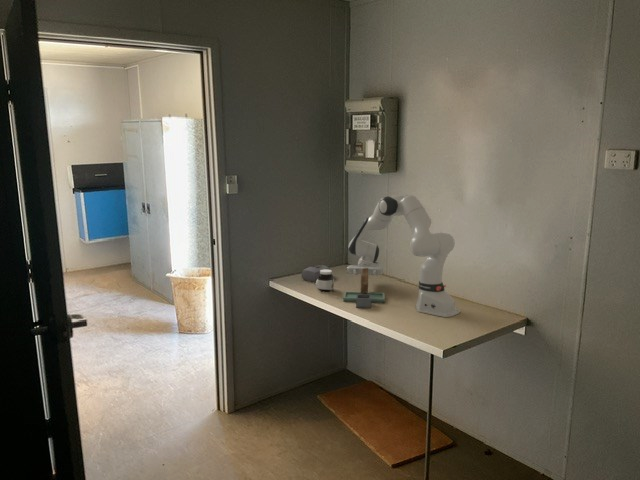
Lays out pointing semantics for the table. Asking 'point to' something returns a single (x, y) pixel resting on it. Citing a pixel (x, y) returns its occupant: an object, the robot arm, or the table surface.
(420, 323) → the table surface
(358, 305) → the grey square sleeve
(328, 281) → the spread jar
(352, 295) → the tray
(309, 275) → the soft grey pack
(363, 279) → the dowel
